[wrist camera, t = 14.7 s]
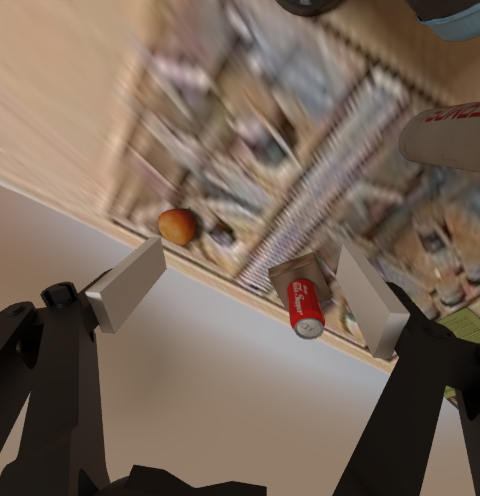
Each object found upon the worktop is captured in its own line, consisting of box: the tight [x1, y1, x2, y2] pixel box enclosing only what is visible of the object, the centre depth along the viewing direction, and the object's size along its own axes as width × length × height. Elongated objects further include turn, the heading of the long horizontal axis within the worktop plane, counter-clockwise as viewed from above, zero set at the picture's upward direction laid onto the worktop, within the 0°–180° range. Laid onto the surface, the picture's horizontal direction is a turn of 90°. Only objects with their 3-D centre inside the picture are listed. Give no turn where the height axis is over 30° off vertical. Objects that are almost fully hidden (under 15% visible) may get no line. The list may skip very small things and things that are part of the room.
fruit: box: [158, 207, 197, 246], centre depth 48 cm, size 8×8×8 cm
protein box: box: [437, 307, 480, 410], centre depth 49 cm, size 10×15×16 cm
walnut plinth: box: [269, 252, 332, 311], centre depth 52 cm, size 11×11×4 cm
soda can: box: [287, 279, 325, 340], centre depth 44 cm, size 6×6×12 cm
